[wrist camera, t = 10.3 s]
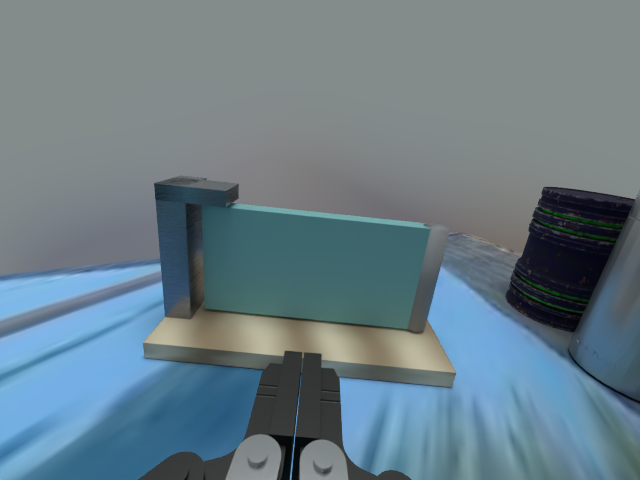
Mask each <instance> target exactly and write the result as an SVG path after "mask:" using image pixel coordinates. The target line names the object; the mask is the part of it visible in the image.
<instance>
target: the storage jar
mask: <svg viewBox="0 0 640 480" xmlns="http://www.w3.org/2000/svg"><path fill="white" fill-rule="evenodd" d="M634 202H635V199H630V198H625V197H620V196H614V195H608V194H603V193H596V192H590V191H583V190H576V189H568V188H558V187H544V188H543V190H542V197H541V199H540V200H539V202H538V206H539V207H536V208H535V211H534V213H533V219H532V221H531V224H529V225H530V227H529V232H530V234H529V237H528V240H527V243H526V245H525V248H524V251H523V254H522V257H521V258H519V259H518V261H517V263H516V264H515V269H514V271H513V273H512V276H511V282H510V289H509V290H508V291H507V293H506V300H507V301H508V303H509V304H510V305H511V306H512V307H513V308H515V309H516V310H517V311H519V312H520V313H522V314H524V315H526V316H527V317H529V318H531V319H533V320H536V321H538V322H540V323H543V324H545V325H548V326H551V327H554V328H558V329H561V330H566V331H571V332H575V331H576V328H577V326H578V324H579V322H580V320H581V317H582V315H583V313H584V311H585V309H586V307H587V305H588V302H589V300H590V298H591V296H592V294H593V291H594V289H595V287H596V285H597V283H598V281H599V278H600V276H601V274H602V272H603V270H604V267H605V265H606V263H607V261H608V259H609V257H610V254H611V252H612V250H613V248H614V246H615V243H616V241H617V239H618V237H619V235H620V233H621V230H622V228H623V226H624V224H625V222H626V219H627V217H628V216H629V212H630V210H631V208H632V206H633V204H634Z"/></svg>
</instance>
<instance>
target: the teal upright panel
mask: <svg viewBox="0 0 640 480" xmlns="http://www.w3.org/2000/svg"><path fill="white" fill-rule="evenodd" d="M449 232H450V229H449V228H448V227H445V226H443V225H439V224H433V223H416V222H406V221H396V220H387V219H378V218H368V217H359V216H349V215H339V214H330V213H320V212H310V211H301V210H291V209H282V208H272V207H263V206H253V205H243V204H234V203H231V204H230V205H229V206H227V207H217V206H208V205H202V236H203V269H204V302H205V309H214V310H224V311H233V312H243V313H253V314H263V315H273V316H283V317H293V318H303V319H313V320H323V321H333V322H343V323H353V324H363V325H373V326H383V327H393V328H403V329H408V330H411V331H415V332H421V331H423V330H424V329H425V325H426V321H427V317H428V314H429V310H430V306H431V302H432V298H433V294H434V290H435V286H436V283H437V279H438V275H439V271H440V267H441V263H442V259H443V255H444V251H445V248H446V244H447V240H448V236H449Z"/></svg>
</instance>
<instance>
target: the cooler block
mask: <svg viewBox="0 0 640 480" xmlns="http://www.w3.org/2000/svg"><path fill="white" fill-rule="evenodd" d="M154 186H155V199H156V210H157V223H158V235H159V247H160V260H161V272H162V284H163V296H164V308H165V317H169V318H180V319H190V320H191V319H192V317H193V316H194V315H195V313H196V312H197V310H198V309H199V308H200V306H201V305H202V304H203V302H204V269H203V236H202V205H208V206H217V207H227V206H229V205H230V204H231V203H233V202H234V201H235V200H237V199H238V190H239V189H238V187H239V184H236V183H227V182H217V181H207V180H206V178H199V177H188V176H178V177H175V178H171V179H168V180H164V181H161V182H157V183H154Z"/></svg>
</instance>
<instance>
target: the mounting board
mask: <svg viewBox="0 0 640 480" xmlns="http://www.w3.org/2000/svg"><path fill="white" fill-rule="evenodd" d="M143 348H144V357H145V358H151V359H161V360H172V361H182V362H193V363H203V364H213V365H224V366H234V367H245V368H255V369H266V367H267V366H268V365H269V364H270V363H276V364H282V363H283V358H284V352H285V351H296V352H303V353H302V365H301V373H302V368H303V358H304V352H308V353H319V354H322V363H321V367H322V368H333V369H334V370H335V372H336V374H337V376H338V377H349V378H359V379H370V380H380V381H390V382H401V383H411V384H422V385H432V386H442V387H452V385H453V381H454V378H455V375H456V372H455V370H454V368H453V366H452V364H451V362H450V360H449V359H448V357H447V355H446V353H445V351H444V349H443V347H442V346H441V344H440V342H439V340H438V338H437V336H436V335H435V333H434V331H433V329H432V327H431V325H430V323H429V322H428V320H427V321H426V325H425V329H424V330H423V331H421V332H415V331H411V330H408V329H403V328H393V327H383V326H373V325H363V324H353V323H343V322H333V321H323V320H313V319H303V318H293V317H283V316H273V315H263V314H253V313H243V312H233V311H224V310H214V309H205V302H203V304H202V305H201V306H200V308H199V309H198V310H197V312H196V313H195V315H194V316H193V317H192V319H191V320H190V319H180V318H169V317H165V318H164V319H163V320H162V321H161V322H160V324H159V325H158V326H157V327H156V328H155V329H154V330H153V332H152V333H151V334H150V335H149V336H148V337H147V338H146V340H145V341H144V342H143Z"/></svg>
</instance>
